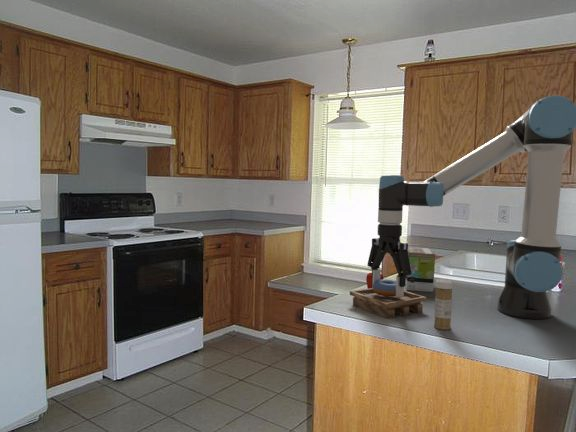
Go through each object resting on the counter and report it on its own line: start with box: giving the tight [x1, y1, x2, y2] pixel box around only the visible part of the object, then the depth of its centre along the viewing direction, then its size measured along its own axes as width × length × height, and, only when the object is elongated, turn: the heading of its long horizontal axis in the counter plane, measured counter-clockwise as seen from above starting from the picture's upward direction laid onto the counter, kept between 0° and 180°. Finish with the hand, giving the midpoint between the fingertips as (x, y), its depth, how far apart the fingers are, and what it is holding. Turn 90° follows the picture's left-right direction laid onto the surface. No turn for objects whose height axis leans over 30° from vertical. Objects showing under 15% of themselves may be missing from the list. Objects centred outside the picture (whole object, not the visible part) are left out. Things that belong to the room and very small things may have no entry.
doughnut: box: [373, 278, 396, 297], centre depth 141 cm, size 10×10×5 cm
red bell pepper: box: [365, 272, 384, 293], centre depth 162 cm, size 6×6×8 cm
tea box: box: [405, 247, 436, 293], centre depth 172 cm, size 15×10×15 cm, turn 168°
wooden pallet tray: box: [349, 288, 427, 320], centre depth 141 cm, size 17×17×5 cm
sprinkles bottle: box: [433, 278, 454, 331], centre depth 123 cm, size 5×5×14 cm
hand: (387, 292), depth 141 cm, fingers closed on doughnut, 10 cm apart
